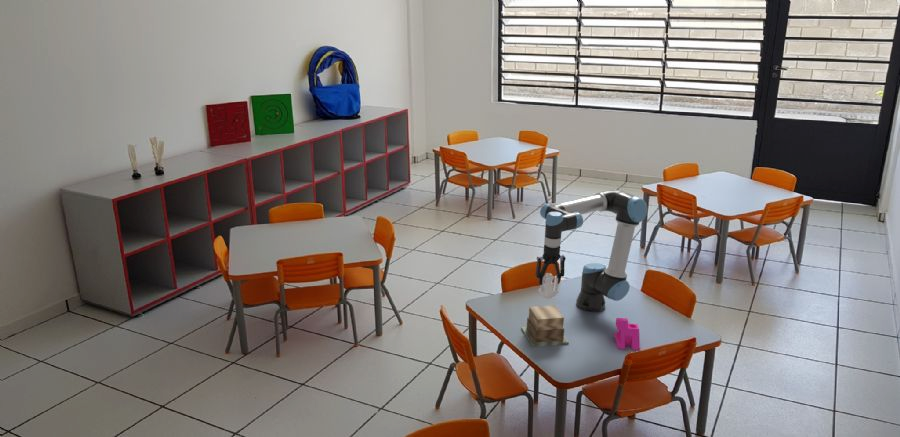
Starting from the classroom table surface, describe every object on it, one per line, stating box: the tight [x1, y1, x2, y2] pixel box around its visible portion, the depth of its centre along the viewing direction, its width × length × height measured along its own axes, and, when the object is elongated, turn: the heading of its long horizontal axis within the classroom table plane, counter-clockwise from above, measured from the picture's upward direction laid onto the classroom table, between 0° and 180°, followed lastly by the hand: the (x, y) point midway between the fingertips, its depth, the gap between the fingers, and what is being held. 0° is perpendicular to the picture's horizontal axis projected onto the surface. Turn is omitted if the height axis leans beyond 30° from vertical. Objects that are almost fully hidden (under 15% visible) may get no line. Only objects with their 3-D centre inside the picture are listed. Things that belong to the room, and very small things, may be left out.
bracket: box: [614, 317, 641, 351], centre depth 341 cm, size 12×10×10 cm
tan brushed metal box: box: [521, 304, 570, 348], centre depth 345 cm, size 18×18×13 cm
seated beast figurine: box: [538, 272, 559, 299], centre depth 337 cm, size 10×9×12 cm
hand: (548, 290), depth 338 cm, fingers open, 6 cm apart
